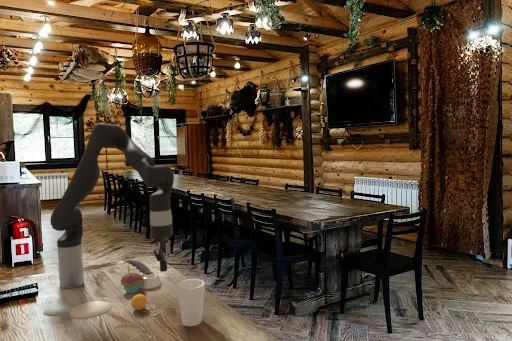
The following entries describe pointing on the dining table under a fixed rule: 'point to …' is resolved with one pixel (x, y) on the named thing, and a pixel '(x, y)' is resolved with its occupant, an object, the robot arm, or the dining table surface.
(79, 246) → the robot arm
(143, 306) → the ball
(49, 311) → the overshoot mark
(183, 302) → the foam cup
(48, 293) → the dining table surface
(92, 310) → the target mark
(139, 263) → the inkwell
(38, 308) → the dining table surface
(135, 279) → the cupcake
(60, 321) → the dining table surface
